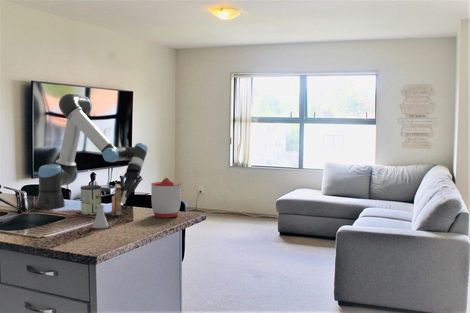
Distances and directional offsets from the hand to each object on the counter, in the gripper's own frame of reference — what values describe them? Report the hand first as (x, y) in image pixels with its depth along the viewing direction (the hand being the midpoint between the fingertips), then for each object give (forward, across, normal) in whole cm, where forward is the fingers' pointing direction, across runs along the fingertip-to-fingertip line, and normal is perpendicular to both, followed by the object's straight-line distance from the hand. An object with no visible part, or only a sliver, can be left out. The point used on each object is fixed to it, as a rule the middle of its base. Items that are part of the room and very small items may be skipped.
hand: (122, 202), depth 240 cm
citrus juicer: (+3, -24, -7) cm, 25 cm away
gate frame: (+3, +5, -6) cm, 8 cm away
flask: (+26, -3, +17) cm, 31 cm away
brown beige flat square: (+4, +2, -3) cm, 6 cm away
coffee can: (+5, +18, -4) cm, 19 cm away
